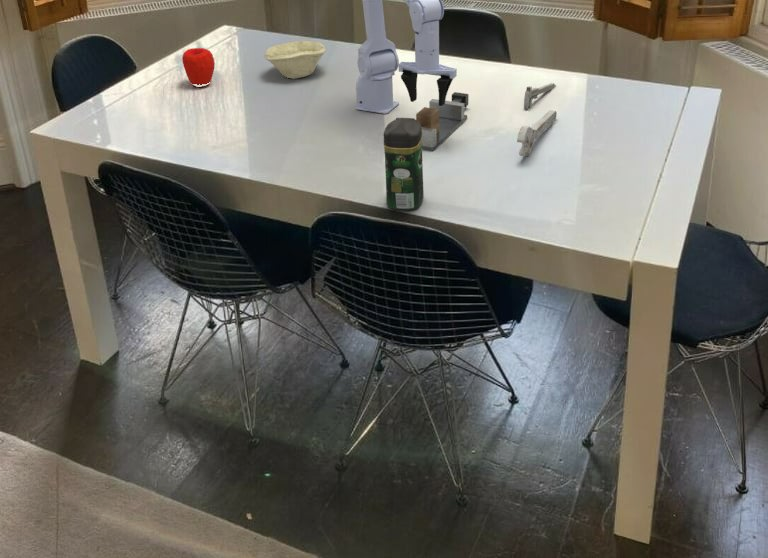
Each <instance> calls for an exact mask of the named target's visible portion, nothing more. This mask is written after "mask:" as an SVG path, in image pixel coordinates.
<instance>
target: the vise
mask: <svg viewBox="0 0 768 558" xmlns="http://www.w3.org/2000/svg"><path fill="white" fill-rule="evenodd" d="M467 120H468V115H467V114H464V118H463V119H462V120H455V119H449V118H442V117H439V132H438V133H437V129H433V128H426V127H421V128H422V151H423V150H424V151H429V152H434V151H435V150H436V149H437V148H438V147H439V146H441V145H442V144H443V143H444V142H445V141H446V140H447V139H448V138H449V137H450V136H451V135H452V134H453V133H455V131H456V130H457V129H458V128H459V127H461V126H462V125H463V123H465V122H466V121H467Z"/></svg>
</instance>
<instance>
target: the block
mask: <svg viewBox="0 0 768 558" xmlns="http://www.w3.org/2000/svg"><path fill="white" fill-rule="evenodd" d="M415 120H417V121H418V122H419V123H420V124H421V127H426V128H433V129H437V133H438V132H439V109H434V108H429V107H426V106H424V107H423V108H421V109H420V110H419V111H418V112H416V114H415Z"/></svg>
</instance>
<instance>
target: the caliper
mask: <svg viewBox="0 0 768 558" xmlns="http://www.w3.org/2000/svg"><path fill="white" fill-rule="evenodd" d="M555 86H556V87H557V85H556V84H555V83H552V82H551V83H549V84H546V85H543V86H540V87H532V86H526V89H525V90H526V91H524V99H523V110H525V111H528V110H529V109H531V108H532V104H533V99H534V100H535V99H538V95H541V94H544V93H546V92H549V91H552V90H554V89H555V88H556V87H555Z"/></svg>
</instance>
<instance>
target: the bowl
mask: <svg viewBox="0 0 768 558" xmlns="http://www.w3.org/2000/svg"><path fill="white" fill-rule="evenodd" d="M325 52H327V49H326V47H325V45H324V44H322V43H321V42H319V41H317V42H315V41H310V40H298V41H297V40H295V41H289V42H284V43H283V42H282V43H278V44H274V45H272V46H270V47H269V48H267V49H266V50H265V51H264V54H263V57H264V58H265V60H266V61H268V62H269V63H271V64H272V66H274V67H275V68H276V69H277V70H278V71H279V72H280V73H281V75H282V76H283V77H284V76H285V77H284V78H286V77H287V78H286V79H288V78H292V79H291V80H295V79H300V78H304V77H305V78H306V77H307V76H310V75H312V74H313V73H314V72H315V69H316V67H317V64H318V63H319V61H320V60H321V58H322V56H323V55H324V54H325Z"/></svg>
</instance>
